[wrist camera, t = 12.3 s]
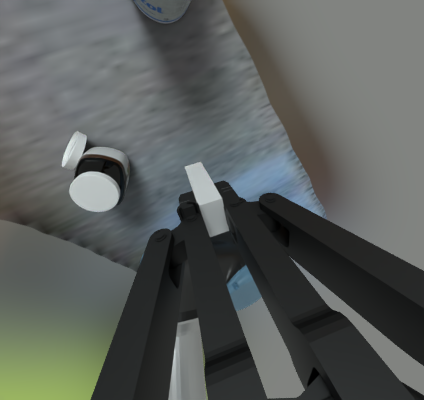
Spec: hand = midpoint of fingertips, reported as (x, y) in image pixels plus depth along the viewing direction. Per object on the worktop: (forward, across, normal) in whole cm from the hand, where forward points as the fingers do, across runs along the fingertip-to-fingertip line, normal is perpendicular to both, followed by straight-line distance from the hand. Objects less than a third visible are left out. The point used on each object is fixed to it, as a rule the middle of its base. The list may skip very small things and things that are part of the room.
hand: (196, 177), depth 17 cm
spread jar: (+25, +17, +2) cm, 30 cm away
